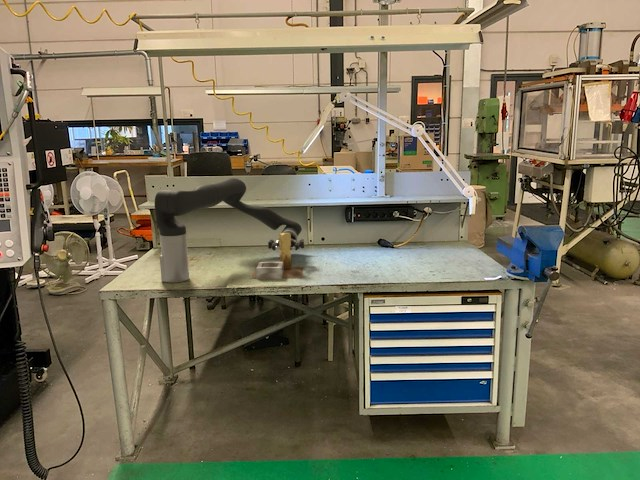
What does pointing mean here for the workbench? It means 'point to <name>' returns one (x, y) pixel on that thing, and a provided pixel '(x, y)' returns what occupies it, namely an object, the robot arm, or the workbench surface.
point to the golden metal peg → (285, 250)
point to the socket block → (276, 271)
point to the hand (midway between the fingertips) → (285, 247)
